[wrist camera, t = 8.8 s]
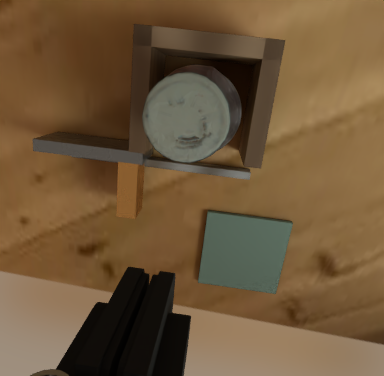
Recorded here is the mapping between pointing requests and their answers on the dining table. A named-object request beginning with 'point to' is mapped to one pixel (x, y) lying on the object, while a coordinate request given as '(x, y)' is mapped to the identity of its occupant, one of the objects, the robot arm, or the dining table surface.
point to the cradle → (208, 50)
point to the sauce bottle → (191, 113)
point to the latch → (104, 150)
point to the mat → (243, 251)
